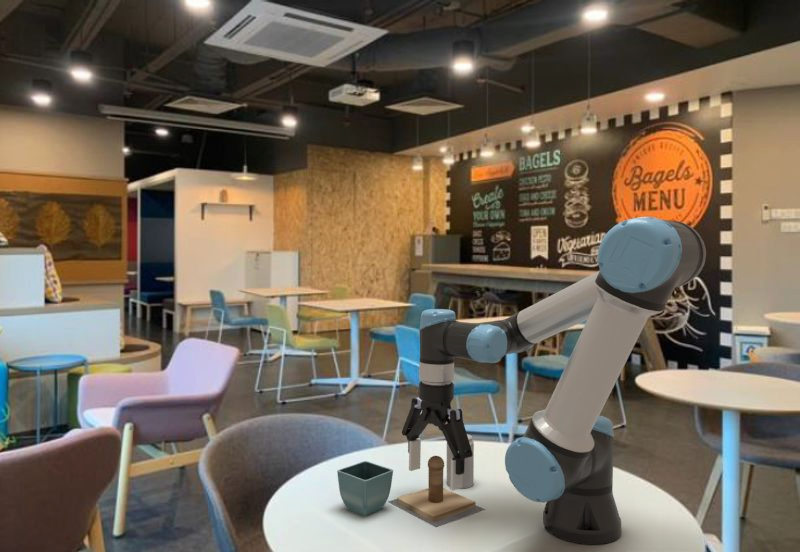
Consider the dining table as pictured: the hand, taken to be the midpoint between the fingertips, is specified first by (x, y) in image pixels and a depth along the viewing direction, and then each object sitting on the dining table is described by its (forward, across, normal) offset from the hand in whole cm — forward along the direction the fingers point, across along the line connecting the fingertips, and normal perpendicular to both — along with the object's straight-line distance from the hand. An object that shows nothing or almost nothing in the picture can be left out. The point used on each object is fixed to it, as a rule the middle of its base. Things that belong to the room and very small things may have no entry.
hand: (434, 478), depth 132 cm
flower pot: (+7, +8, +13) cm, 16 cm away
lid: (+6, 0, 0) cm, 6 cm away
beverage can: (+7, +6, -13) cm, 16 cm away
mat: (+6, 0, 0) cm, 6 cm away
